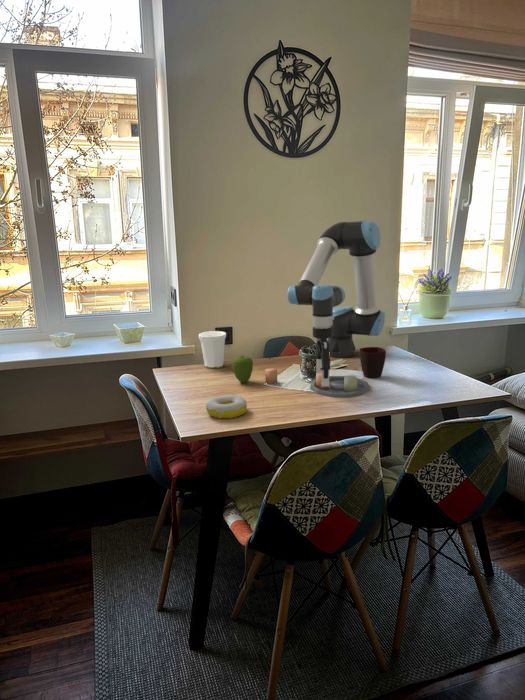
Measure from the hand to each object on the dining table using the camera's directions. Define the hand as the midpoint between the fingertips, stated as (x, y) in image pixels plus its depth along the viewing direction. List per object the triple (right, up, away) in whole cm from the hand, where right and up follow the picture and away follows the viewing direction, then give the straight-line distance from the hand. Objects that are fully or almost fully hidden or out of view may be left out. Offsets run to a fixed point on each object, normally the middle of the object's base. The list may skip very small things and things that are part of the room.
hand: (322, 380), depth 194 cm
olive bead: (+10, -4, -5) cm, 12 cm away
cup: (-46, +4, +39) cm, 60 cm away
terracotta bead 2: (0, -3, 0) cm, 3 cm away
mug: (+22, 0, +16) cm, 27 cm away
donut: (-36, -10, -19) cm, 42 cm away
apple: (-31, -2, +14) cm, 34 cm away
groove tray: (+6, -4, +1) cm, 8 cm away
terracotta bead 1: (-20, -2, +12) cm, 23 cm away
